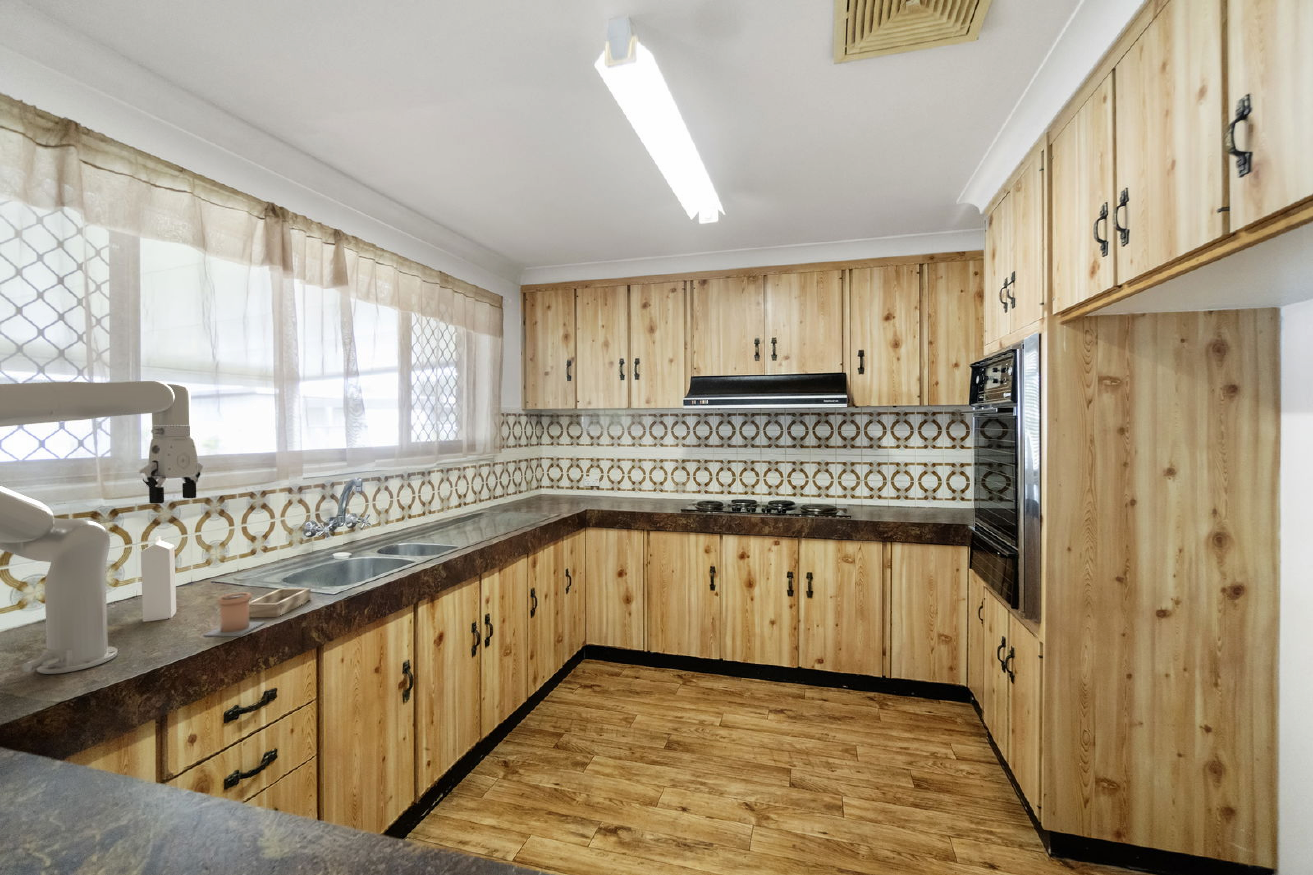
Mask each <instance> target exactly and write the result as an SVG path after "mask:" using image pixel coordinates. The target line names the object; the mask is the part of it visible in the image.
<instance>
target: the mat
mask: <svg viewBox="0 0 1313 875" xmlns="http://www.w3.org/2000/svg"><path fill="white" fill-rule="evenodd" d="M265 624H266V622H265V621H249V627H248V628H246V629H244V630H240V631H236V632H228V633H225V632H221V631H220V626H219V627H217V628H216V629H212V630H211V631H209V632H206V633H205V634H203V637H242V636H244V635H246V634H247V633H249V632H251V631H253V630H255V629H257V628H259V627H261V626H263V625H265ZM256 627H257V628H256ZM254 628H255V629H254ZM252 629H253V630H252Z"/></svg>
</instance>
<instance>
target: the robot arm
mask: <svg viewBox="0 0 1313 875" xmlns="http://www.w3.org/2000/svg"><path fill="white" fill-rule="evenodd" d="M191 413H192V412H191V390H190V388H189V387H188V385H184V384H178V383H177V384H176V383H175V384H174V383H164V382H162V381H159V380H137V381H135V380H134V381H123V382H122V381H121V382H120V381H118V382H91V381H89V382H87V381H47V382H45V381H44V382H25V383H24V382H22V383H0V428H1V427H13V426H15V427H16V426H24V425H34V424H36V425H37V424H43V423H44V424H45V423H46V424H47V423H59V422H61V423H62V422H71V421H83V420H85V421H87V420H90V419H91V420H93V419H98V418H108V417H119V416H132V415H146V414H151V431H150V432H151V434H152V435H151V436H152V438H151V440H150V444H149V445H150V447H149V451H148V464H147V465H146V466H144V467H143V468H141V469H140V470H139V474H140V477H141V478H142V481H143V482H144V484H146V487H147V488H148V496H149V499H148V502H149V504H153V505H154V504H164V503H165V489H164V486H163V484H164V482H165V481H166V479H179V478H180V479H181V480H183V483H182V484H181V485H182V486H181V487H182V498H183V499H196V498H197V483H198V482H199V478H200V477H201V472H202V470H203V464H201V463H199V462H198V454H197V448H196V443H195V440H194V438H193V437H192V426H191V425H192V423H191ZM110 546H111V538H110V534H109V532H108V530H107V529H106V528H105V527H104V526H103V525H101V524H100V523H98V522H96V521H92V520H88V519H81V518H80V519H79V518H78V519H77V518H75V519H74V518H57V517H55V516H54V512H53V511H52V510H51V509H50V508H49V506H47V505H46V504H45V503H43V502H41V501H39V500H36V499H33V498H31V497H28V496H26V495H24V494H21V493H19V492H16V491H15V490H11V489H9V488H7V487H4V486H2V485H0V550H1V551H4V552H6V553H9V554H12V555H16V556H18V557H21V558H24V559H28V560H31V561H36V562H37V561H38V562H46V563H50V565H49V568H48V571H47V573H46V576H45V582H44V605H45V633H46V634H45V635H46V636H45V637H46V649H43V650H41V655H40V656H39V657H38V658H36V659H32V660H29V661H26V662H24V663H22V667H21V668H22V670H23V671H24V672H26V673H27V672H31V671H33V670H36V671H37V673H39V674H44V675H45V674H46V675H54V674H55V675H56V674H57V675H58V674H64V673H70V672H76V671H81V670H85V669H89V668H92V667H96V666H98V665H99V666H100V665H101V664H104V663H107V662H108V661H110V660H112V659H114V658H116V657H117V655H118V652H119V650H118V648H117V647H115V646H114V647H113V646H109V643H108V642H109V639H108V611H107V581H106V580H107V579H106V577H107V576H106V574H107V561H108V557H109V553H110V552H109V551H110V548H111V547H110Z"/></svg>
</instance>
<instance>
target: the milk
mask: <svg viewBox="0 0 1313 875" xmlns="http://www.w3.org/2000/svg"><path fill="white" fill-rule="evenodd" d="M161 538H162V536H161V534H160V535H158V536H156V537H155V538H154V543H152V544H151V545H149V546H147V547H146V548H144V549H142V550H141V551H140V568H141V569H140V570H141V571H140V572H141V573H140V574H141V575H140V576H141V603H142V605H141V606H142V623H146V622H147V623H148V622H151V621H152V622H153V621H159V620H168V618H169V619H172V618H173V616H174V615H175V614H176V613H177V589H176V588H177V587H176V555H175V553H176V552H175V550H176V549H175V544H172V543H170V542H167V541H163V540H161Z"/></svg>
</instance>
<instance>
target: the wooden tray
mask: <svg viewBox="0 0 1313 875" xmlns="http://www.w3.org/2000/svg"><path fill="white" fill-rule="evenodd" d="M311 589H312V588H309V587H307V588H306V587H305V588H304V587H301V588H298V587H297V588H294V587H293V588H289V587H288V588H279V589H277V590H274V591H272V592H269V593H266V594H265V595H262V596H260V597H258V598H255V599H254V600H251V601H249V618H278V617H280V615H281V616H282V614H283V615H284V614H287V613H288V612H290V611H292V610H294V609H296V608H299V607H300V606H302V605H304V604H306V603H308V602H309V601H308V600H310V601H311V600H312V596H311V595H312V594H311V591H312V590H311ZM307 601H308V602H307ZM301 604H302V605H301ZM299 605H300V606H299ZM291 609H292V610H291Z"/></svg>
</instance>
